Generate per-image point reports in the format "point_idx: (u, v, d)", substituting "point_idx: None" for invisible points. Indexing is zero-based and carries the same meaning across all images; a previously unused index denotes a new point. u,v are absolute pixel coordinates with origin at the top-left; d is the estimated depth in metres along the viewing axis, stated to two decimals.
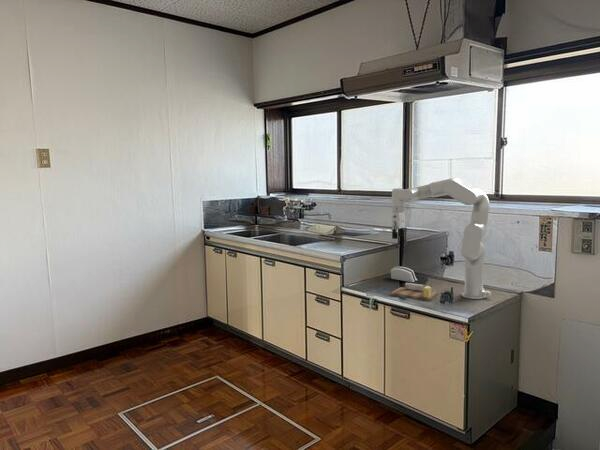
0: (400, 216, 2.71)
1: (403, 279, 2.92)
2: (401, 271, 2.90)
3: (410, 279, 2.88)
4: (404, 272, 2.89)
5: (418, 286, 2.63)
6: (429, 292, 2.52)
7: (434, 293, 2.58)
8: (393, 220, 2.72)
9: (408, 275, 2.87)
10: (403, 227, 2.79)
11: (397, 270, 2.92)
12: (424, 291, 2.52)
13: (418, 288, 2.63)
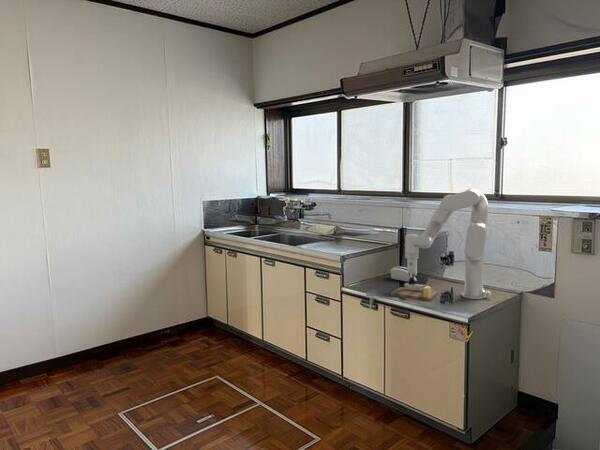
0: (416, 263, 2.63)
1: (403, 279, 2.92)
2: (400, 271, 2.90)
3: None
4: (403, 272, 2.89)
5: (418, 286, 2.63)
6: (429, 292, 2.52)
7: (434, 293, 2.58)
8: (409, 267, 2.63)
9: (407, 275, 2.87)
10: None
11: (397, 270, 2.92)
12: (424, 291, 2.52)
13: (418, 288, 2.63)
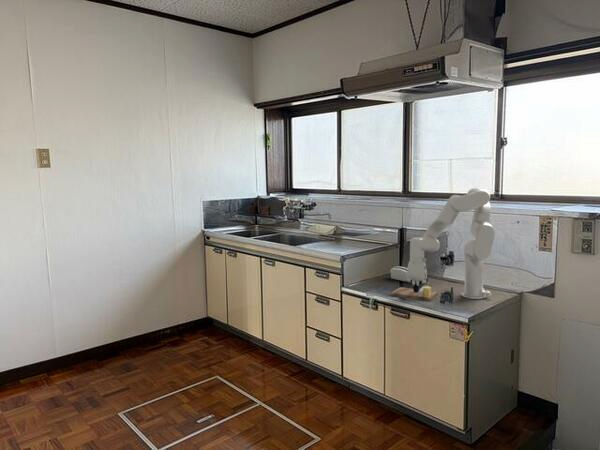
0: None
1: (403, 279, 2.92)
2: (400, 271, 2.90)
3: None
4: (403, 272, 2.89)
5: None
6: (429, 292, 2.52)
7: (434, 293, 2.58)
8: (424, 272, 2.50)
9: None
10: None
11: (396, 270, 2.92)
12: (424, 291, 2.52)
13: None
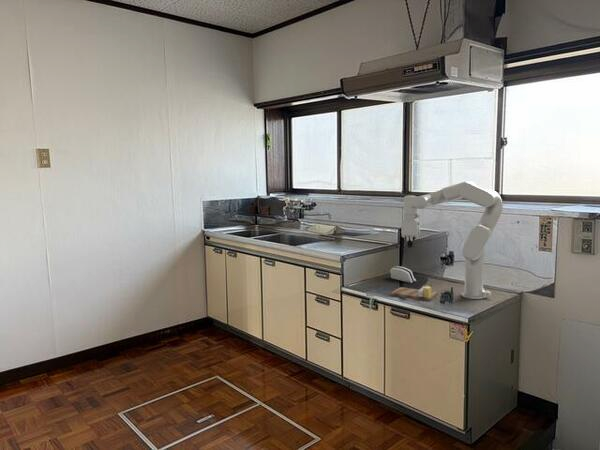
0: None
1: (402, 279, 2.92)
2: (399, 271, 2.90)
3: (408, 279, 2.88)
4: (402, 272, 2.89)
5: None
6: (429, 292, 2.52)
7: (434, 293, 2.58)
8: (417, 227, 2.66)
9: (406, 275, 2.87)
10: None
11: (396, 270, 2.93)
12: (424, 291, 2.52)
13: None
